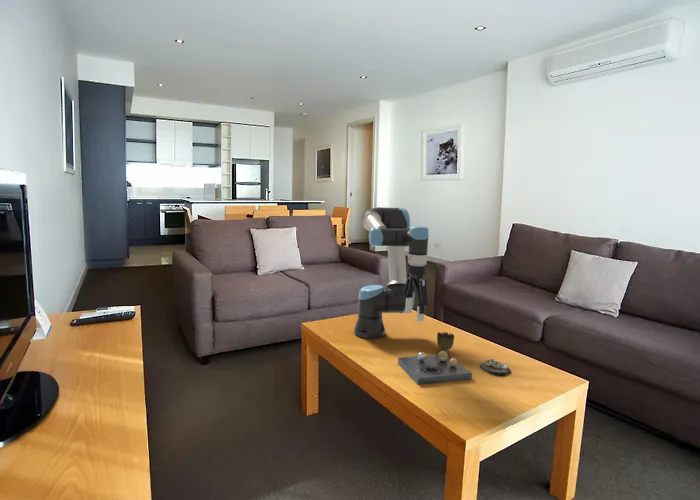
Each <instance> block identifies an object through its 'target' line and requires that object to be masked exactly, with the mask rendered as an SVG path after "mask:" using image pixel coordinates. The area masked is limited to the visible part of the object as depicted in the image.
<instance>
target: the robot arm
mask: <svg viewBox="0 0 700 500" xmlns="http://www.w3.org/2000/svg"><path fill="white" fill-rule="evenodd" d="M361 225H362V226H363V228H364V229H365V230H366V231H368V242H369V243H368V244H369V245H370V246H372V247H373V246H375V247H387V266H388V283H387V284H386V288H384V286H383V285H380V284H370V285H366V286H363V287H361V288H360V289H359V292H358V293H359V294H358V314H357V317H358V318H357V319H356V322H355V325H354V328H353V333H354V335H355V336H356V337H360V338H362V339H380V338H382V337H384V336H385V335H386V328H385V324H384V321H383V314H399V313H400V314H412V313H413V308H414V304H415V299H416V298H415V295H416V297H417V304H416V306H417V310H416V322H424V320H425V319H424V318H425V306H428V305H429V303H428V291H427V280H426V279H424V278H423V276H425V275H427V262H428V245H429V235H430V234H429V228H428V227H427V226H423V225H412V226H411V219H410V214H409V211H408V210H407V209H406V208H403V207H379V206H378V207H376V206H375V207H372V208H370V209H368V210H366V211H365V212H364V213H363V214H362V217H361ZM405 247H408V254H407V255H408V256H407V265H406V248H405ZM415 291H416V292H415ZM415 293H416V294H415Z"/></svg>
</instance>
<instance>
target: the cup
mask: <svg viewBox="0 0 700 500" xmlns="http://www.w3.org/2000/svg"><path fill="white" fill-rule="evenodd" d="M436 341H437V342H436V343H437V346H438V348H439V349H440V352H441V351H445V352H447V354H449V352H450V350H451V349H452V348H453V346H454V341H455V335H454V334H453V333H451V332H449V333H448V332H446V331H444V332H443V331H442V332H440V331H439V332H438V333H437V334H436Z"/></svg>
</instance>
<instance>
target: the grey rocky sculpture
mask: <svg viewBox="0 0 700 500" xmlns="http://www.w3.org/2000/svg"><path fill="white" fill-rule="evenodd" d="M479 369H480V370H482V371H483V372H486V373H488V374H490V375H493V376H498V377H505V376H509V375H510V374H511V373H512V371H511V369H510V368H509V367H508V365H507V364H505V363H503V362H502V363H501V362H500V361H497V360H496V359H494V358H492V357H491V358H489V359H486V360H485V361H484V362H482V363H480V364H479Z"/></svg>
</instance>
